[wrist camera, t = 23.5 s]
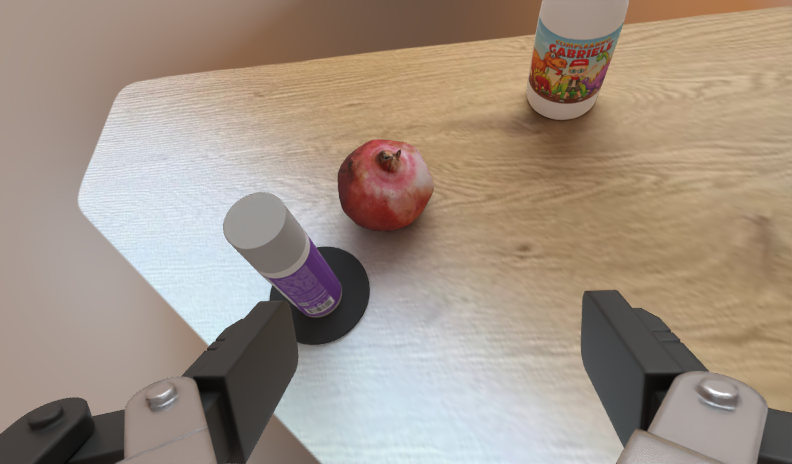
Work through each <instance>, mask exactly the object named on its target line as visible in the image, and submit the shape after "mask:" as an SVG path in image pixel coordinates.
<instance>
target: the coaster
mask: <svg viewBox="0 0 792 464" xmlns="http://www.w3.org/2000/svg"><path fill="white" fill-rule="evenodd" d="M317 249H318V251H319V252H320V254H321V255H322V257H323V258H324V260H325V261H326V262H327V264H328V265H329V267H330V268H331V270H332V271H333V273H334V274H335V276H336V277H337V278H338V280H339V282H340V284H341V286H342V297H341V300H340V303H339V304H338V306H337V307H336V308H335V309H334V310H333V311H332V312H331V313H329V314H328V315H325V316H323V317H310V316H307V315H305V314H304V313H302V312H301V311H300V310H299V309H298V308H297V307H296V306H295V305H294V304H292V303H291V302H290V301H289V300H288V299H287V298H286V297H285V296H284V295H283V294H282V293H280V292H279V291H278V290H277V289H276V288H275V287H274V286H273V285H272V288H271V292H270V301H287V302H288V303H289V305H290V308H291V313H292V318H293V324H294V330H295V335H296V341H297V342H299V343H303V344H309V345H318V344H325V343H328V342H331V341H334V340H336V339H338V338H340V337H342V336H344V335H345V334H346V333H348V332H349V331H350V330H351V329H352V328H353V327H354V326H355V325H356V324H357V323H358V321H359V320H360V318H361V317H362V315H363V313H364V311H365V309H366V306H367V303H368V299H369V281H368V277H367V274H366V272H365V270H364V268H363V266H362V265H361V263H360V262H359V261H358V260H357V259H356V258H355V257H354V256H353V255H351V254H350V253H348V252H346V251H344V250H342V249H339V248H334V247H317Z"/></svg>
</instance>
